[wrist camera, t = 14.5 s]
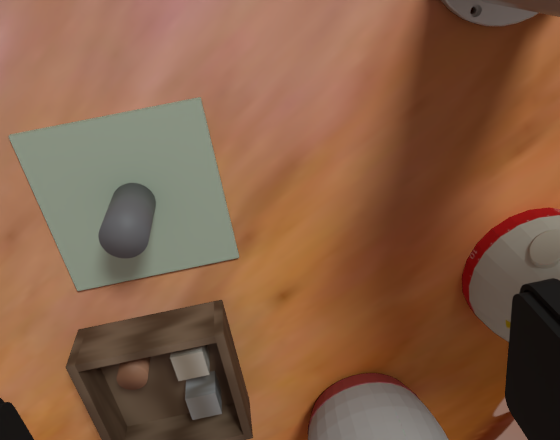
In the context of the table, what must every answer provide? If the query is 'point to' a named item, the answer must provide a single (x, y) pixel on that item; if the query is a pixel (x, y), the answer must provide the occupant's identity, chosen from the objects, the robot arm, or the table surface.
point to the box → (163, 377)
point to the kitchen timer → (511, 264)
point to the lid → (130, 193)
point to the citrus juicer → (372, 412)
